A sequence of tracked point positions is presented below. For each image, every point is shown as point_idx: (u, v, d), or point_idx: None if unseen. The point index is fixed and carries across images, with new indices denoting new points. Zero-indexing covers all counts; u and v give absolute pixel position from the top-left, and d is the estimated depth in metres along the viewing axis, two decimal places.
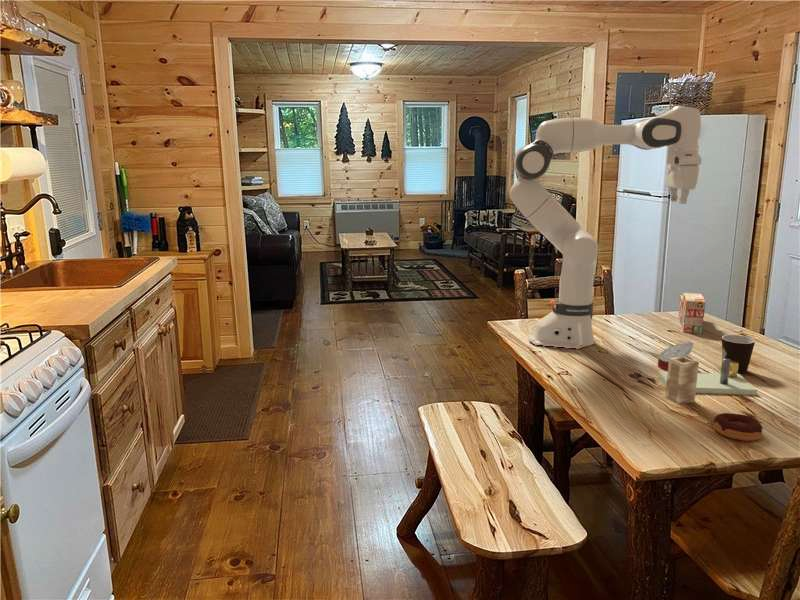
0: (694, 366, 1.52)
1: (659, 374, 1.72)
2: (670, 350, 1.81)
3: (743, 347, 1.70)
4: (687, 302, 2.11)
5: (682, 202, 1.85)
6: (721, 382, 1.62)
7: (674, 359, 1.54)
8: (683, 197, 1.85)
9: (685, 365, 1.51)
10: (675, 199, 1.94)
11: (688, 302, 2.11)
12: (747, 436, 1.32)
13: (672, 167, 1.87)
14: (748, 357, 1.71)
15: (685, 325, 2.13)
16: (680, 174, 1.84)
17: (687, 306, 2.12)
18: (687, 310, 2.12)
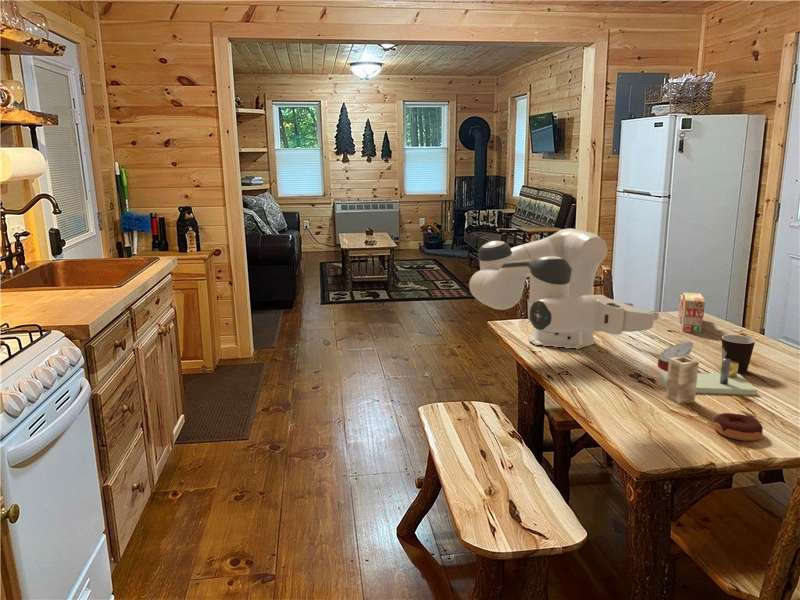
0: (694, 366, 1.52)
1: (659, 374, 1.72)
2: (670, 350, 1.81)
3: (743, 347, 1.70)
4: (686, 302, 2.12)
5: (656, 317, 1.42)
6: (721, 382, 1.62)
7: (674, 359, 1.54)
8: None
9: (685, 365, 1.51)
10: (630, 306, 1.50)
11: (687, 302, 2.12)
12: (747, 436, 1.32)
13: None
14: (748, 357, 1.71)
15: (684, 325, 2.14)
16: None
17: (686, 306, 2.12)
18: (686, 310, 2.12)
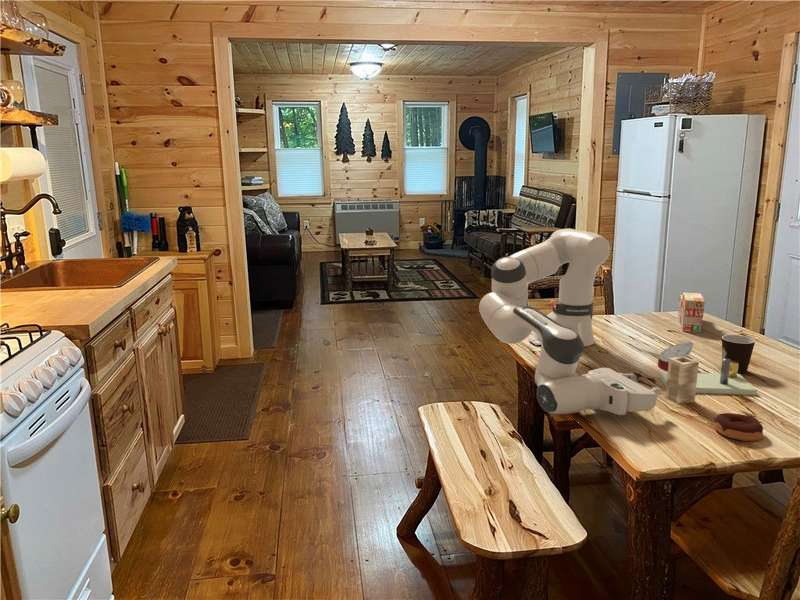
0: (694, 366, 1.52)
1: (659, 374, 1.72)
2: (670, 350, 1.81)
3: (743, 347, 1.70)
4: (686, 302, 2.12)
5: (659, 392, 1.47)
6: (721, 382, 1.62)
7: (674, 359, 1.54)
8: None
9: (685, 365, 1.51)
10: (633, 377, 1.55)
11: (687, 302, 2.12)
12: (747, 436, 1.32)
13: None
14: (748, 357, 1.71)
15: (684, 324, 2.14)
16: None
17: (686, 306, 2.12)
18: (686, 309, 2.13)
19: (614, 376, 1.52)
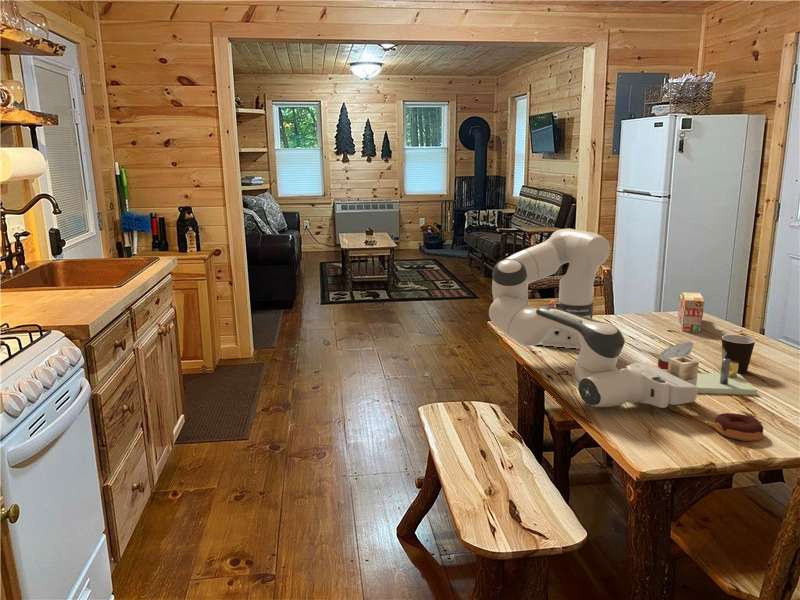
0: (694, 366, 1.52)
1: None
2: (670, 350, 1.81)
3: (743, 347, 1.70)
4: (686, 301, 2.12)
5: (694, 384, 1.51)
6: (721, 382, 1.62)
7: (674, 359, 1.54)
8: None
9: (685, 365, 1.51)
10: None
11: (687, 301, 2.12)
12: (748, 436, 1.32)
13: None
14: (748, 357, 1.71)
15: (684, 324, 2.14)
16: None
17: (686, 305, 2.13)
18: (686, 309, 2.13)
19: (653, 370, 1.56)
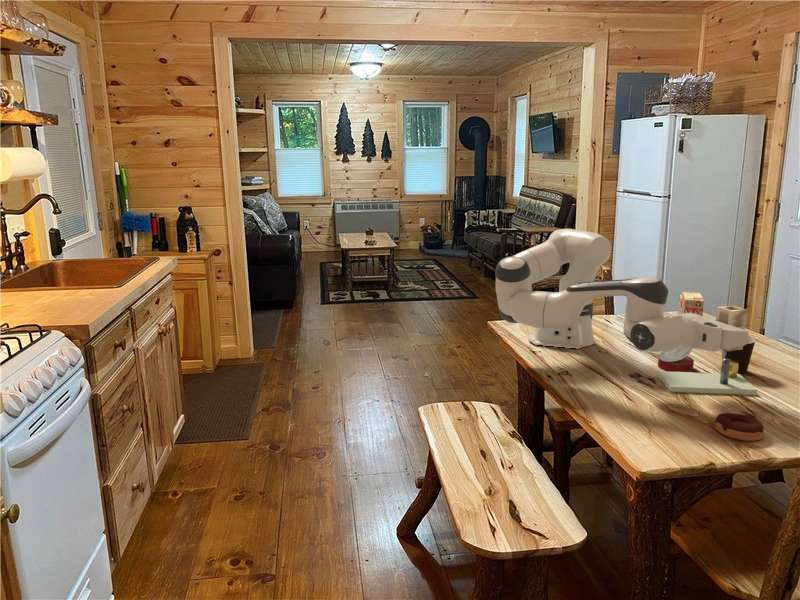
0: (743, 314, 1.56)
1: (659, 374, 1.72)
2: None
3: (743, 347, 1.70)
4: (686, 301, 2.13)
5: None
6: (721, 382, 1.62)
7: (723, 307, 1.58)
8: None
9: (734, 312, 1.55)
10: None
11: (687, 301, 2.13)
12: (748, 436, 1.32)
13: None
14: (748, 357, 1.71)
15: None
16: None
17: (686, 305, 2.13)
18: (686, 309, 2.13)
19: None
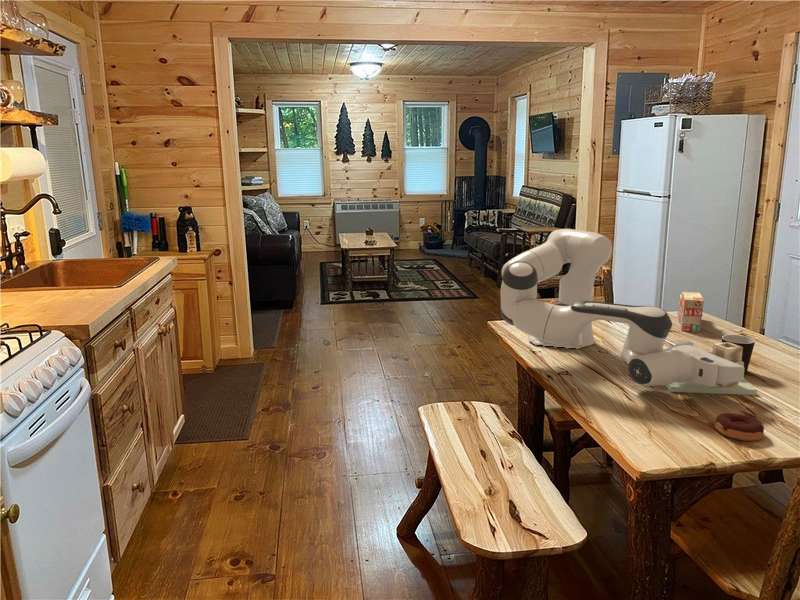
0: (738, 351, 1.58)
1: None
2: (670, 350, 1.81)
3: (743, 347, 1.70)
4: (685, 301, 2.13)
5: (742, 366, 1.57)
6: None
7: (719, 344, 1.61)
8: None
9: (730, 350, 1.57)
10: None
11: (686, 301, 2.13)
12: (748, 436, 1.32)
13: None
14: (748, 357, 1.71)
15: (683, 324, 2.15)
16: None
17: (685, 305, 2.13)
18: (685, 309, 2.14)
19: (698, 352, 1.62)
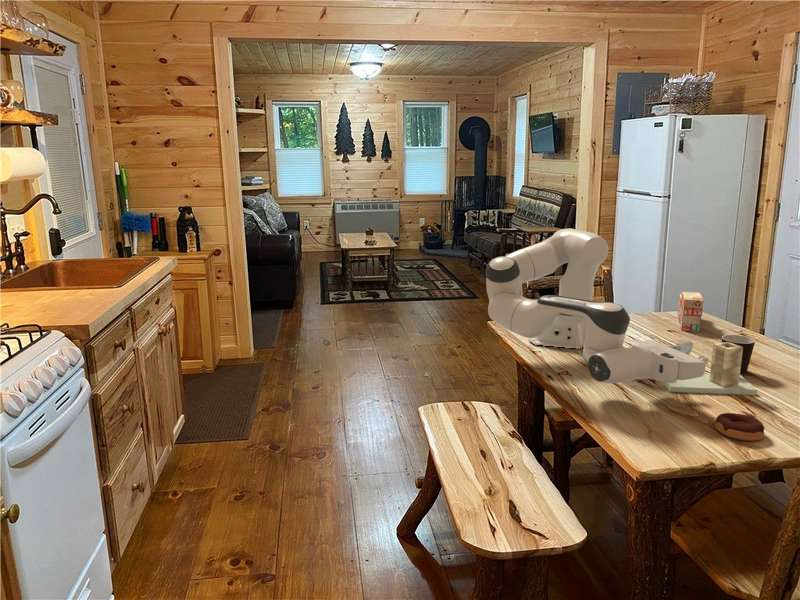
0: (738, 351, 1.58)
1: None
2: None
3: (743, 347, 1.70)
4: (685, 301, 2.13)
5: (706, 362, 1.52)
6: None
7: (719, 344, 1.61)
8: None
9: (730, 350, 1.57)
10: (679, 348, 1.60)
11: (686, 301, 2.13)
12: (749, 436, 1.32)
13: None
14: (748, 357, 1.71)
15: (683, 324, 2.15)
16: None
17: (685, 305, 2.14)
18: (685, 309, 2.14)
19: (661, 347, 1.57)
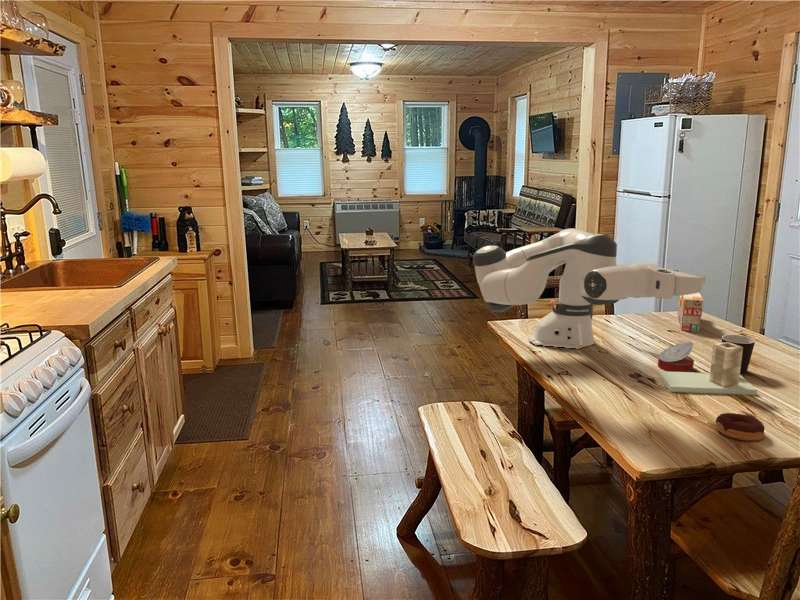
0: (738, 351, 1.58)
1: (659, 374, 1.72)
2: (670, 350, 1.81)
3: (743, 347, 1.70)
4: (685, 301, 2.13)
5: (703, 281, 1.50)
6: None
7: (719, 344, 1.61)
8: None
9: (730, 350, 1.57)
10: None
11: (686, 301, 2.13)
12: (749, 436, 1.32)
13: None
14: (748, 357, 1.71)
15: (683, 323, 2.15)
16: None
17: (685, 305, 2.14)
18: (685, 308, 2.14)
19: None
